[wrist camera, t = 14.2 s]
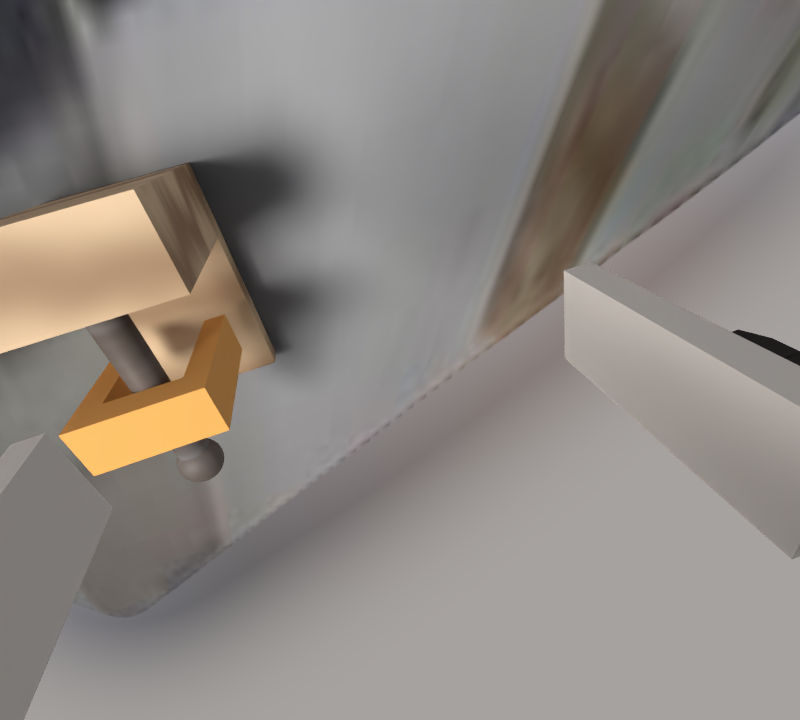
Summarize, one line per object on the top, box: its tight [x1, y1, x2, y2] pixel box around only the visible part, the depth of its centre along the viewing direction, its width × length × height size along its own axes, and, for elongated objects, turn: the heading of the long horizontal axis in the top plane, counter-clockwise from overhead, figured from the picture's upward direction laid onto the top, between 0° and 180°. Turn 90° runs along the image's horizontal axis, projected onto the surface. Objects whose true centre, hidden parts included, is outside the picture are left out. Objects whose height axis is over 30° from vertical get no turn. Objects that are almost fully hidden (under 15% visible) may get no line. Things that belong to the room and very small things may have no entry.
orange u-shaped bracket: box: [59, 314, 242, 476], centre depth 27 cm, size 3×8×10 cm, turn 104°
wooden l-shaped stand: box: [0, 163, 275, 482], centre depth 28 cm, size 17×10×14 cm, turn 14°
